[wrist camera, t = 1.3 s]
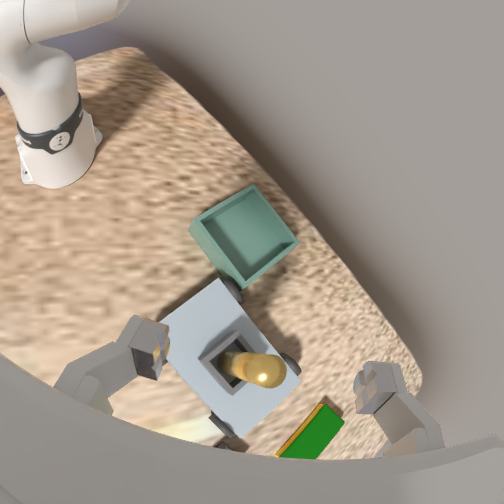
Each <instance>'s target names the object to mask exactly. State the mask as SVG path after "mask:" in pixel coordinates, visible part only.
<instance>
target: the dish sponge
mask: <svg viewBox="0 0 504 504" xmlns="http://www.w3.org/2000/svg"><path fill="white" fill-rule="evenodd" d="M343 425H344V421H343V420H342V419H341V418H340V417H339V416H338V415H337V414H336V413H335V412H334V411H333V410H332V409H331V408H330V407H329V406H327V405H325V404H319V405H318V406H317V407H316V409H315V410H314V411H313V412H312V413H311V415H310V416H309V417H308V418H307V419H306V421H305V422H304V423H303V424H302V425H301V427H300V428H299V429H298V430H297V431H296V432H295V433H294V435H293V436H292V437H291V438H290V439H289V440H288V441H287V442H286V443H285V444H284V446H283V447H282V448H281V449H280V450H279V451H278V452H277V453H276V454H275V457H282V458H295V459H316V458H317V457H318V456H319V455H320V454H321V452H322V451H323V450H324V449H325V448H326V446H327V445H328V444H329V443H330V441H331V440H332V439H333V438H334V436H335V435H336V434H337V433H338V431H339V430H340V429H341V427H342V426H343Z"/></svg>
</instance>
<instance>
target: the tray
mask: <svg viewBox="0 0 504 504" xmlns="http://www.w3.org/2000/svg"><path fill="white" fill-rule="evenodd" d="M188 231H189V232H190V234H191V235H192V237H193V238H194V239H195V241H196V242H197V243H198V245H199V246H200V247H201V249H202V250H203V251H204V253H205V254H206V256H207V257H208V258H209V260H210V261H211V262H212V264H213V265H214V266H215V268H216V269H217V270H218V272H219V273H220V274H221V275H222V277H223V278H226V279H228V280H230V281H231V282H232V283H233V284H234V285H235V286H236V287H237V288H238V290H239V291H241V290H243V289H245V288H246V287H247V286H248V285H250V284H251V283H252V282H253V281H255V280H256V279H257V278H258V277H260V276H261V275H262V274H263V273H264V272H266V271H267V270H268V269H269V268H271V267H272V266H273V265H274V264H275V263H277V262H278V261H279V260H280V259H282V258H283V257H284V256H285V255H286V254H288V253H289V252H290V251H291V250H292V249H294V248H295V247H296V246H297V245H298V244H300V242H299V241H298V240H297V238H296V237H295V236H294V234H293V233H292V232H291V230H290V229H289V228H288V226H287V225H286V224H285V222H284V221H283V220H282V219H281V217H280V216H279V215H278V213H277V212H276V211H275V210H274V208H273V207H272V206H271V204H270V203H269V202H268V201H267V199H266V198H265V197H264V196H263V194H262V193H261V192H260V191H259V189H258V188H257V187H256V186H255V184H252V185H250V186H248V187H247V188H245V189H243V190H241V191H240V192H238V193H236V194H235V195H233V196H231V197H229V198H228V199H226V200H224V201H223V202H221V203H219V204H217V205H216V206H214V207H212V208H211V209H209V210H207V211H206V212H204V213H202V214H201V215H199V216H197V217H196V218H194V219H193V220H192V223H191V225H190V228H189V230H188Z"/></svg>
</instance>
